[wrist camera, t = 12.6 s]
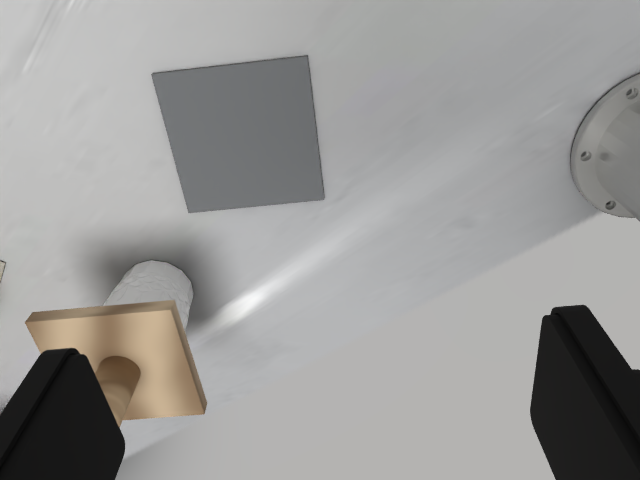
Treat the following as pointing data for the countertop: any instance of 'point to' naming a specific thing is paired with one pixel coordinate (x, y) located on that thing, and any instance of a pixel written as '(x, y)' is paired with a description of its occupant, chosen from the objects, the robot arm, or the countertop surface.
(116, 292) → the white cup
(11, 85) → the countertop surface
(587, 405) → the robot arm
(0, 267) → the condiment
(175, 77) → the mat
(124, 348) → the lid
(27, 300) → the countertop surface
